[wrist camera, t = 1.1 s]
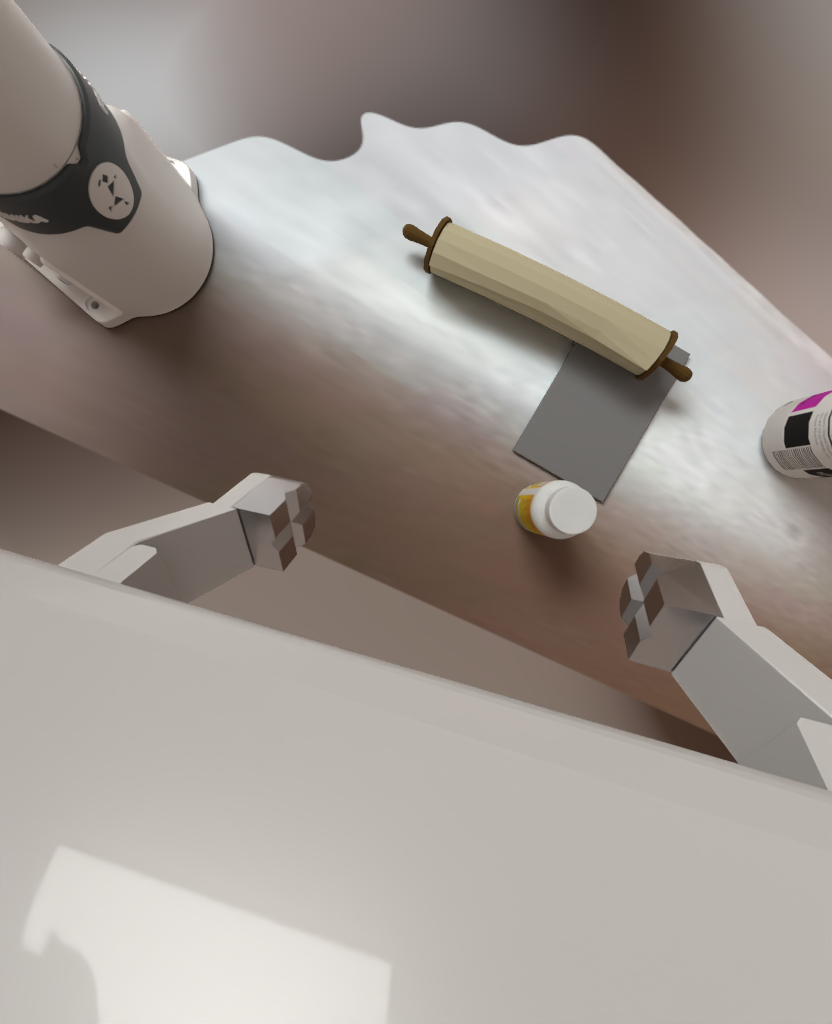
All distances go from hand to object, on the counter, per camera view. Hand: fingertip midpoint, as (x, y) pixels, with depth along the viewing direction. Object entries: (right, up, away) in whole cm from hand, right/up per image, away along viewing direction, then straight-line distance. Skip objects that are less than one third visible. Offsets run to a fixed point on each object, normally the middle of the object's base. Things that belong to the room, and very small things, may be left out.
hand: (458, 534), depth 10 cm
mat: (+19, +12, +32) cm, 39 cm away
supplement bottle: (+12, +1, +32) cm, 34 cm away
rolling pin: (+12, +21, +31) cm, 40 cm away
